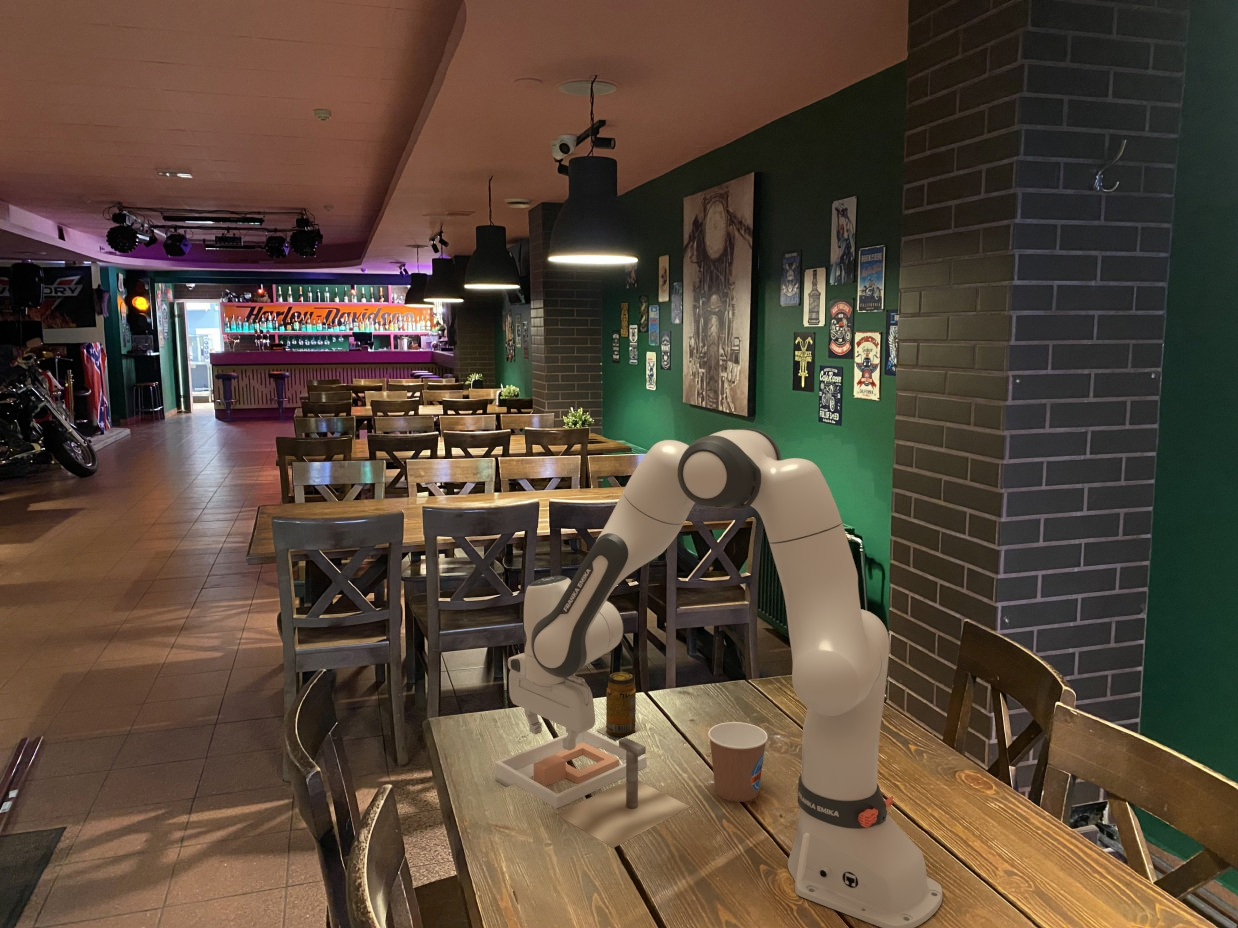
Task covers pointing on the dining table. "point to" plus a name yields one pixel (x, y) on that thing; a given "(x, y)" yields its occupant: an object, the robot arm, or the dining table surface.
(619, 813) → the board
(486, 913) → the dining table surface
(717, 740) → the coffee cup
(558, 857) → the dining table surface
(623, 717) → the condiment
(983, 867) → the dining table surface
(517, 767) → the tray
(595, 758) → the square frame with stem
